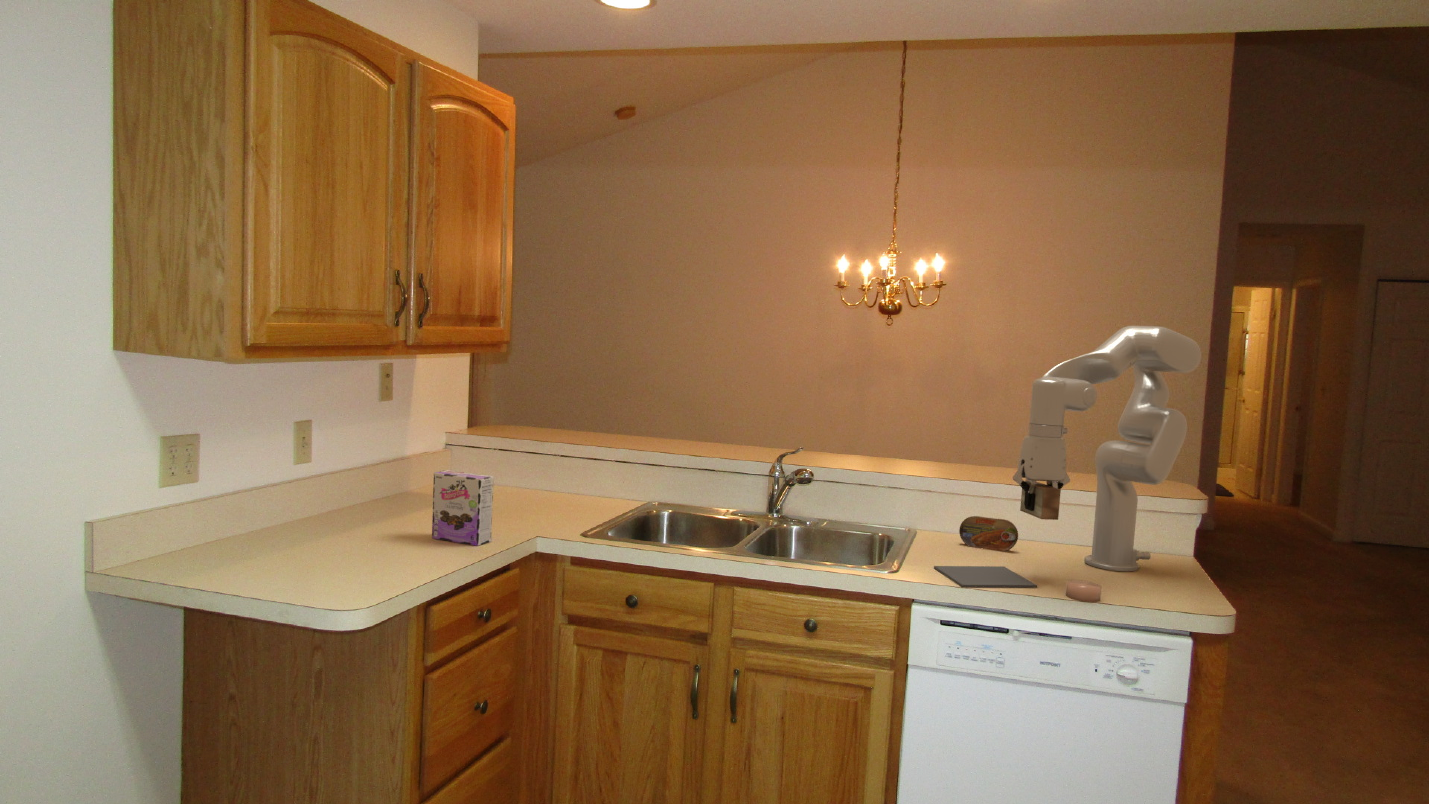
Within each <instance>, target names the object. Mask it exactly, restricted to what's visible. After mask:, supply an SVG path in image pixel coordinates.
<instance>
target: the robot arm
mask: <svg viewBox="0 0 1429 804" xmlns="http://www.w3.org/2000/svg"><path fill="white" fill-rule="evenodd" d="M1201 361H1202V350H1201V348H1200V346H1199V344H1198V343H1197V342H1196V340H1194V339H1192V338H1191V337H1188V336H1187V335H1184V334H1182V333H1179V332H1177V331H1175V330H1173V329H1170V328H1168V327H1165V326H1160V325H1159V326H1158V325H1157V326H1155V325H1154V326H1153V325H1127V326H1124V327H1122V328H1120V329H1119V330H1117V331H1115V333H1113V334H1112V335H1111V336H1109V338H1107V339H1106V340H1105V341H1104V342H1103V343H1101V344H1100V345H1099V346H1098V347H1097V348H1095V349H1094V350H1092V351H1090V352H1087V353H1085V354H1081V355H1079V356H1077V357H1073V358H1070V359H1068V360H1065V361H1063V362H1061V363H1059V364H1057V365H1055V366H1053V367H1052V368H1050V370H1048V371H1046V372H1045V373H1044V374H1043V376H1041V377H1040V378H1037V379H1035V380H1034V381H1033V382H1032V385H1031V386H1032V387H1031V398H1030V399H1031V400H1030V409H1029V410H1030V411H1029V421H1028V431H1027V432H1028V433H1027V434H1028V435H1025V436H1024V437H1023V439H1022V443H1021V447H1020V451H1019V456H1018V463H1017V469H1016V470H1017V471H1016V472H1015V473H1014V474H1013V476H1012V480H1013V481H1014V482H1015V483H1017V484H1018V485H1019V486H1020V487H1021V490H1022V489H1023V491H1025V499H1024V505H1025V509H1028V510H1030V511H1033V510H1034V507H1035V494H1034V493H1033V492H1034V488H1035V485H1036V482H1046V485H1049V486H1052V487H1055V488H1058V489H1061V490H1062V488H1064V486H1066V485H1067V484H1068V483H1070V482H1071V478H1070V477H1069V474H1068V472H1067V449H1066V447H1067V446H1066V440H1065V439H1064V438H1063V437H1064V435H1065V434H1068V432H1069V431H1068V428H1067V427H1065V426H1064V424H1065V413H1066V412H1065V411H1069V412H1077V413H1078V412H1080V413H1081V412H1086V411H1088V410H1090V409H1091V408H1092V407H1093V406H1094V405H1095V404H1096V402H1097V398H1098V392H1097V389H1096V387H1095V386H1094V385H1097V384H1104V383H1107V382H1111V381H1114V380H1116V379H1118V378H1119V377H1120V376H1121V375H1122V374H1124V372H1126V371H1127V370H1128V369H1129V368H1130V367H1132V371H1133V377H1134V378H1133V379H1134V386H1133V390H1132V392H1131V394H1130V397H1129V399H1128V400H1127V403H1126V405H1125V406H1124V409H1123V412H1122V414H1121V415H1120V418H1119V421H1118V423H1117V432H1118V435H1119V436H1120V437H1121V438H1122V439H1124V440H1118V439H1117V440H1114V439H1113V440H1107V441H1105V442H1102V444H1100V445H1099V447H1098V448H1097V449H1096V452H1095V455H1094V456H1095V459H1094V460H1095V461H1094V463H1095V470H1096V471H1095V472H1096V481H1097V482H1096V497H1095V510H1094V521H1093V522H1094V523H1093V533H1092V546H1091V554H1089V555H1086V556H1084V559H1083V560H1084V563H1085V564H1087V565H1089V566H1091V567H1094V568H1099V569H1102V570H1107V571H1108V570H1109V571H1113V572H1116V571H1117V572H1134V571H1137V570H1138V569H1139V563H1137V561H1139V560H1150V559H1151V552H1150V551H1141V552H1140V551H1139V550H1137V549H1135V548H1134V545H1135V535H1136V533H1135V532H1136V522H1137V513H1138V512H1137V511H1138V510H1137V509H1138V494H1137V491H1136V488H1135V486H1134V483H1137V484H1138V483H1139V484H1144V485H1151V486H1152V485H1153V486H1154V485H1155V486H1156V485H1159V484H1161V483H1163V482H1164V481H1165V480H1167V478H1168V476H1169V475H1170V473H1171V471H1172V469H1173V467H1174V464H1175V462H1176V460H1177V457H1178V455H1179V453H1180V451H1181V449H1182V448H1183V447H1182V446H1183V445H1184V442H1185V440H1186V437H1187V432H1188V423H1187V418H1186V416H1185V414H1183V413H1182V412H1181V411H1180V410H1178V409H1175V408H1171V407H1167V404H1168V402H1169V399H1170V396H1171V395H1170V389H1169V386H1168V384H1167V382H1166V381H1165V379H1164V377H1163V375H1162V373H1161V372H1163V373H1174V374H1175V373H1178V374H1188V373H1191V372H1193V371H1195V370H1196V369H1197V368H1198V366H1200V363H1201ZM1125 440H1127V441H1125ZM1024 479H1025V480H1024ZM1133 482H1134V483H1133Z"/></svg>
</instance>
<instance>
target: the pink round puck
mask: <svg viewBox="0 0 1429 804" xmlns="http://www.w3.org/2000/svg"><path fill="white" fill-rule="evenodd" d="M1101 595H1102V586H1101V585H1100V584H1099V583H1095V582H1092V581H1087V580H1079V579H1071V580H1068V581H1067V582H1066V590H1065V596H1066V597H1067V598H1069V599H1072V600H1075V601H1079V602H1085V603H1097V602H1099V601H1100V600H1101Z"/></svg>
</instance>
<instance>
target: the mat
mask: <svg viewBox="0 0 1429 804" xmlns="http://www.w3.org/2000/svg"><path fill="white" fill-rule="evenodd" d="M933 570H935V571H937V572H938V573H940V574H942V575H943V576H944V577H946V578H947V579H949V580H950V581H951V582H953V583H955V584H956V585H958V586H959V587H960V588H974V589H975V588H994V589H995V588H999V589H1000V588H1004V589H1005V588H1006V589H1007V588H1009V589H1011V588H1013V589H1014V588H1016V589H1017V588H1018V589H1019V588H1020V589H1022V588H1023V589H1025V588H1026V589H1027V588H1029V589H1031V588H1032V589H1035V588H1037V589H1038V584H1036V583H1034V582H1032V581H1031V580H1029V579H1028V578H1026V577H1023V576H1022V575H1020V574H1019V573H1017V572H1015V571H1013V570H1011V569H1010V568H1008V567H1006V566H998V565H997V566H993V565H992V566H990V565H987V566H986V565H985V566H982V565H981V566H980V565H979V566H978V565H974V566H973V565H933Z"/></svg>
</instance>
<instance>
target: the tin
mask: <svg viewBox="0 0 1429 804" xmlns="http://www.w3.org/2000/svg"><path fill="white" fill-rule="evenodd" d="M958 532H959V537H960V539H961V541H962V542H963V543H964V544H965V545H966V546H968V547H970V548H975V549H981V548H983V549H984V550H991V551H997V552H1006V551H1010V550H1011V549H1012V548H1014V547H1015V546H1016V545H1017V542H1018V540H1019V531H1018V528H1017V527H1016V525H1015V524H1014V523H1013V522H1012V521H1010V520H1008V519H1005V518H1003V519H1002V518H995V517H987V516H986V517H985V516H980V515H979V516H978V515H973V516H972V515H971V516H968V517H966V518H965V519H964V520H963V521H962V522H961V524H960V525H959V530H958Z"/></svg>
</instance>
